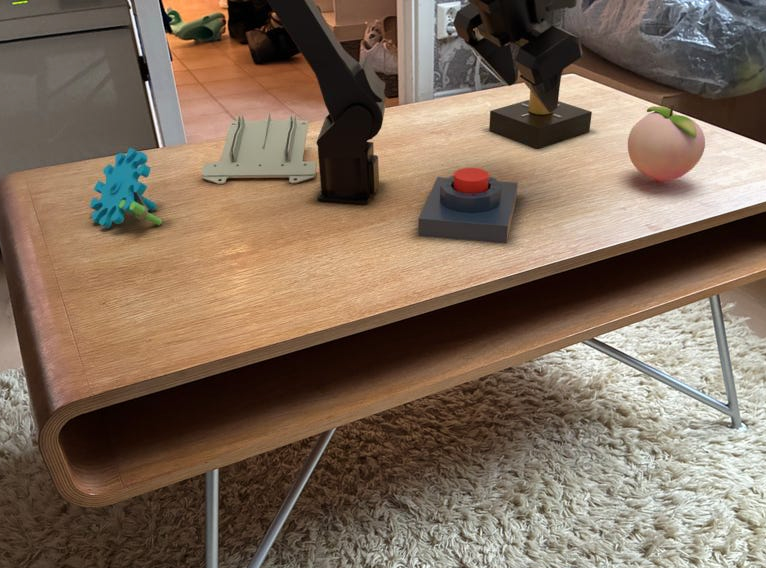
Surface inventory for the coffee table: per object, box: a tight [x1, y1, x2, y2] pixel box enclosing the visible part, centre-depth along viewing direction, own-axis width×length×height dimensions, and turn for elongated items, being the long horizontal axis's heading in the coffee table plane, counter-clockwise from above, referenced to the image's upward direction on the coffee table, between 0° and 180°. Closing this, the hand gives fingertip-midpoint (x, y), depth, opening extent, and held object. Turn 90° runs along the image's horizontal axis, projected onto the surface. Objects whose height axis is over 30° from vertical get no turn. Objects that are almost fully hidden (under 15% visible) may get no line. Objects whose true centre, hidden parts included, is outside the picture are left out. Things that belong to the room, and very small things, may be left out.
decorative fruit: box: [627, 103, 706, 184], centre depth 94 cm, size 9×8×10 cm
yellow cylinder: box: [528, 89, 552, 115], centre depth 109 cm, size 4×4×8 cm
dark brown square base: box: [488, 99, 593, 150], centre depth 113 cm, size 11×10×3 cm
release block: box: [417, 174, 519, 244], centre depth 89 cm, size 12×10×4 cm
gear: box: [89, 147, 163, 229], centre depth 91 cm, size 11×6×10 cm
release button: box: [453, 167, 490, 194], centre depth 88 cm, size 4×4×2 cm
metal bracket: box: [201, 111, 318, 185], centre depth 104 cm, size 14×6×15 cm
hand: (531, 96), depth 93 cm, fingers open, 9 cm apart
